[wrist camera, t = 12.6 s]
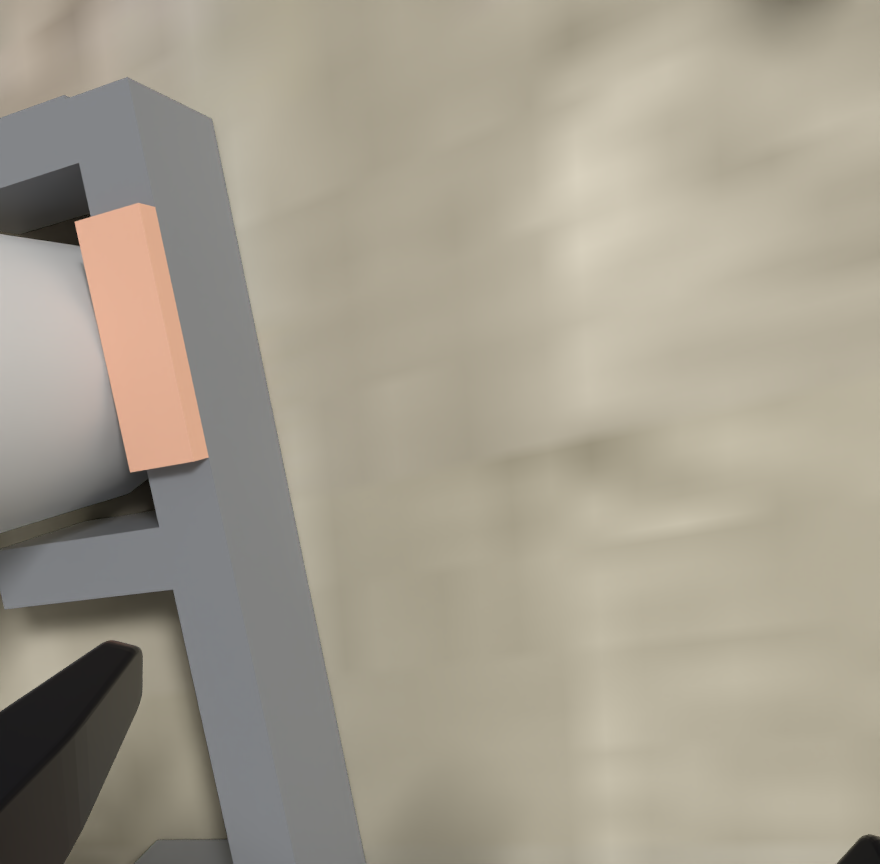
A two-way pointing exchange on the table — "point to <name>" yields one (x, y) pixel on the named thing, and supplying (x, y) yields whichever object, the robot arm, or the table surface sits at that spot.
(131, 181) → the comb rack
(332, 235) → the table surface
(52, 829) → the robot arm
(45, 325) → the can
